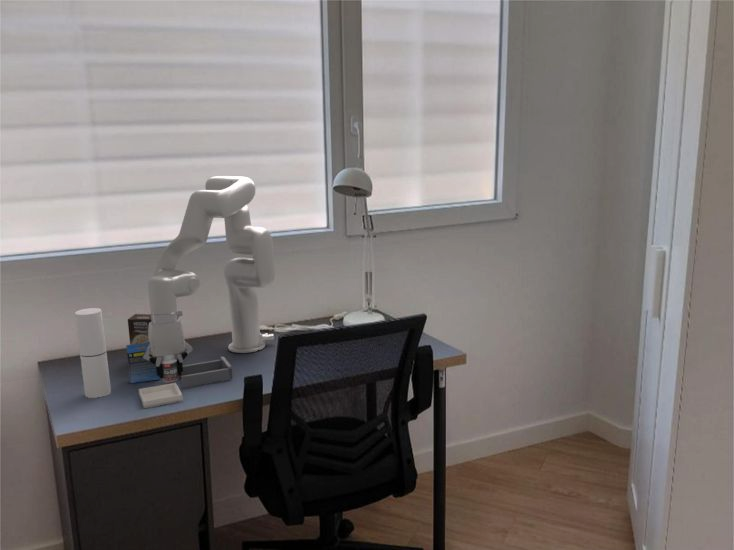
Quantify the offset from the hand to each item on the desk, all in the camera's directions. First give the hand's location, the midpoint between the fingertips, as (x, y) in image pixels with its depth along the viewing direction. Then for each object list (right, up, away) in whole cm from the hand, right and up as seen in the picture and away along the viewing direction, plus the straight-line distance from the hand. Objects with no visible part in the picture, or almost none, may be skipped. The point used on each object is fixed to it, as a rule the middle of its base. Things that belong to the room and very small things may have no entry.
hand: (170, 375), depth 214 cm
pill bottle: (0, -2, 0) cm, 2 cm away
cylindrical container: (-20, -5, -5) cm, 21 cm away
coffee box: (-12, +1, +20) cm, 23 cm away
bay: (+9, -2, +5) cm, 10 cm away
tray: (0, -5, -10) cm, 11 cm away
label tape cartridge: (-9, -2, +5) cm, 11 cm away
